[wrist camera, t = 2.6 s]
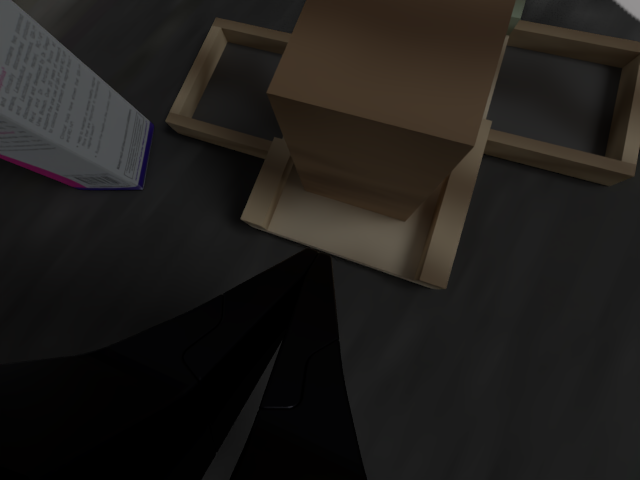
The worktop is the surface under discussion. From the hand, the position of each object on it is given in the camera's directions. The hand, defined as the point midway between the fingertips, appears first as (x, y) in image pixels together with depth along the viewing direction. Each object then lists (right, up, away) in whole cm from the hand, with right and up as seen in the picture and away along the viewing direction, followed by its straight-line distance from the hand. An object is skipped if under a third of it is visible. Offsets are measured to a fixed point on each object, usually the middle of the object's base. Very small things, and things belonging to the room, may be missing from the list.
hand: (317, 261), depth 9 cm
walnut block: (+3, +6, +9) cm, 12 cm away
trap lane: (+5, +10, +11) cm, 15 cm away
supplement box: (-16, +7, +12) cm, 22 cm away
